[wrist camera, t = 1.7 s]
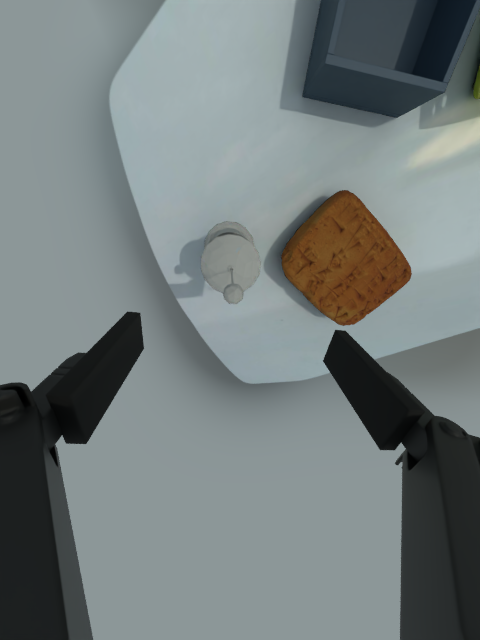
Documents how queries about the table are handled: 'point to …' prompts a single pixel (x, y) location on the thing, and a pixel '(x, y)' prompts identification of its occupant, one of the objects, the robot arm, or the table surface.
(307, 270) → the inscribed clay slab
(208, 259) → the french press
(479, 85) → the flower pot
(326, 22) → the tub
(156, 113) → the table surface
